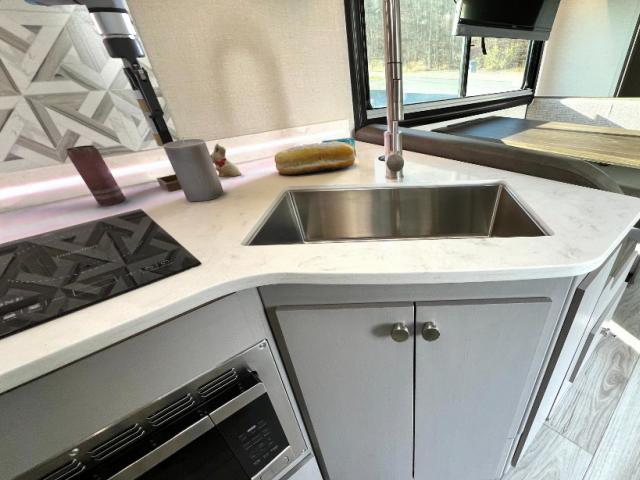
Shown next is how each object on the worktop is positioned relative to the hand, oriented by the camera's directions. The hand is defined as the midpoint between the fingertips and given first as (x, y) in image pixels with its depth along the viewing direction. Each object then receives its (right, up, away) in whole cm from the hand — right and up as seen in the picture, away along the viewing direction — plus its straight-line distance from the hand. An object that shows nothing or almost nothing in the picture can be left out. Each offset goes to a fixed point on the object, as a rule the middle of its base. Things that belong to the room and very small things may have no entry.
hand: (166, 142), depth 91 cm
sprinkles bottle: (0, -1, 0) cm, 1 cm away
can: (-12, -19, -4) cm, 23 cm away
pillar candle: (+13, -16, -2) cm, 21 cm away
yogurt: (+45, +9, +29) cm, 54 cm away
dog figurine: (+11, -4, +14) cm, 18 cm away
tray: (0, -9, +7) cm, 12 cm away
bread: (+40, -1, +16) cm, 43 cm away
